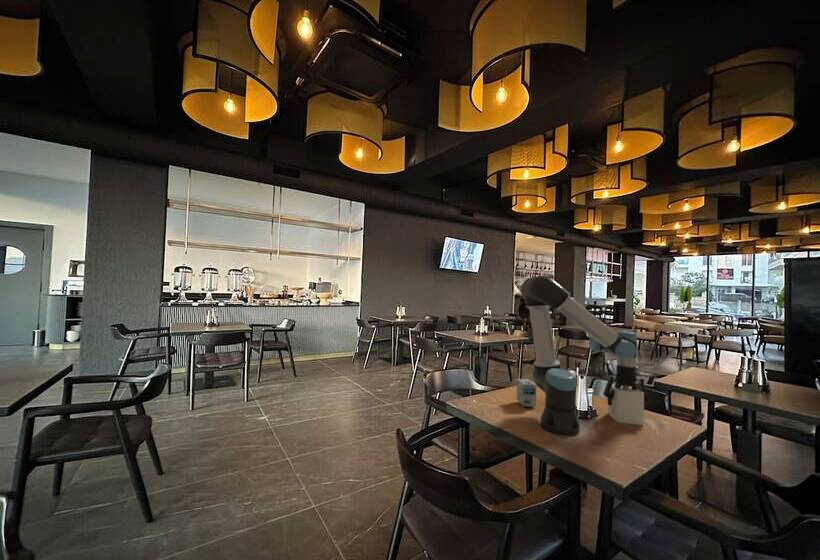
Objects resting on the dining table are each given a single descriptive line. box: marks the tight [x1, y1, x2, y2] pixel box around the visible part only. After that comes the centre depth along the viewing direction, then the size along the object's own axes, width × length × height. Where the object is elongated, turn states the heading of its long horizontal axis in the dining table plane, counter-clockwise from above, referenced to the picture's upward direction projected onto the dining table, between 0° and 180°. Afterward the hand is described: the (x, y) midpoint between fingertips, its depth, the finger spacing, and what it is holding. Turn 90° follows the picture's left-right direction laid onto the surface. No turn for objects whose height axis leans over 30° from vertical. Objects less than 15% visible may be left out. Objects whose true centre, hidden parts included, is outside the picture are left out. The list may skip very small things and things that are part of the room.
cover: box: [607, 383, 645, 426], centre depth 148 cm, size 10×10×16 cm
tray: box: [643, 418, 670, 431], centre depth 142 cm, size 11×11×1 cm
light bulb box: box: [516, 378, 537, 408], centre depth 164 cm, size 11×7×11 cm, turn 179°
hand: (625, 413), depth 148 cm, fingers closed on cover, 10 cm apart
